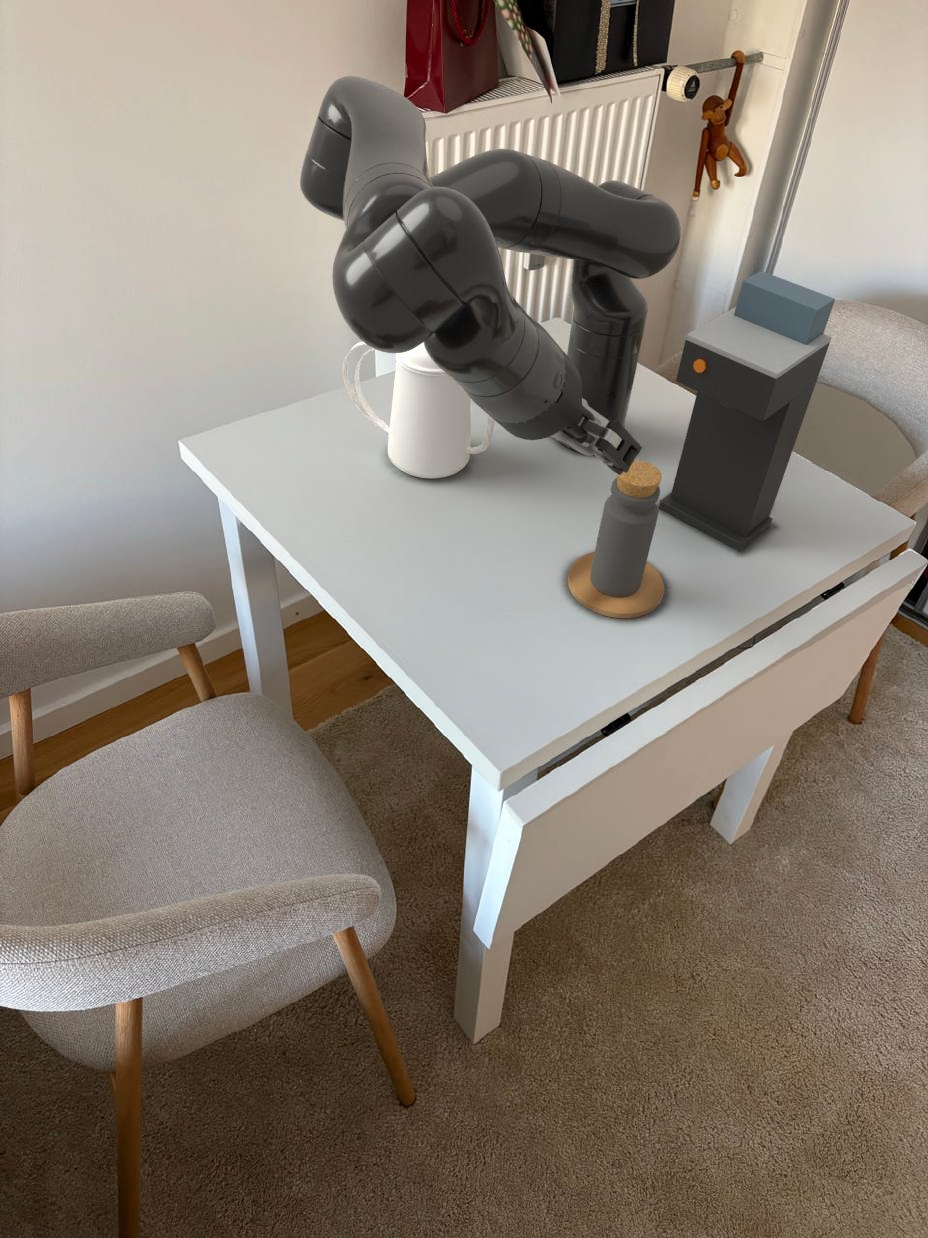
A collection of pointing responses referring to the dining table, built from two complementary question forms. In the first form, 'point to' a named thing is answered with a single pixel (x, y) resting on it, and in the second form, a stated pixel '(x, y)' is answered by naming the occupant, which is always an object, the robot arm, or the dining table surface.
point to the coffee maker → (747, 406)
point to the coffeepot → (423, 416)
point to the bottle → (626, 531)
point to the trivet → (615, 606)
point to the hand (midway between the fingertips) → (586, 444)
